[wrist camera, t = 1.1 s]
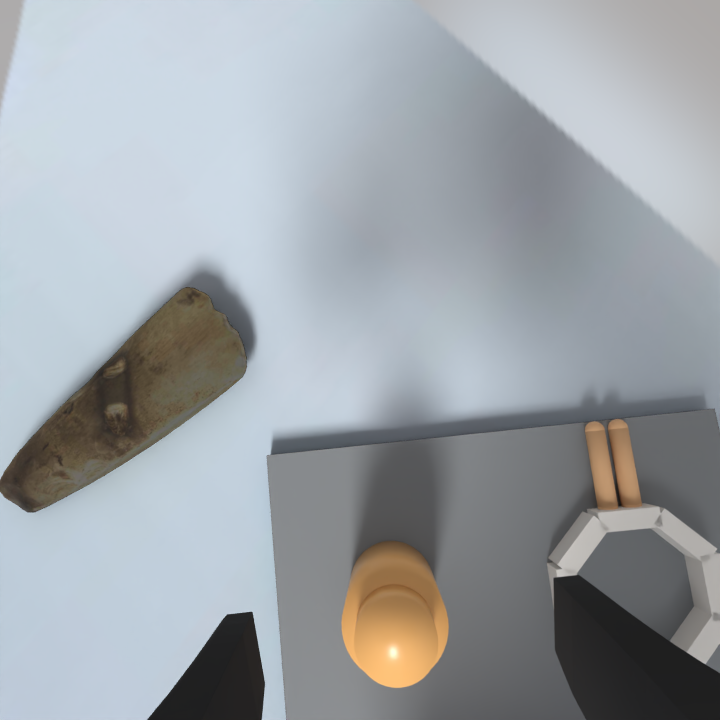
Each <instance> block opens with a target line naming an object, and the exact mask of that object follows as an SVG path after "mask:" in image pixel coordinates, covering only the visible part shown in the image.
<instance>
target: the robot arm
mask: <svg viewBox="0 0 720 720" xmlns="http://www.w3.org/2000/svg"><path fill="white" fill-rule="evenodd" d="M553 583H554V634H555V652H556V654H557V657H558V660H559V662H560V665H561V667H562V670H563V672H564V675H565V677H566V680H567V682H568V684H569V687H570V689H571V692H572V694H573V696H574V698H575V700H576V702H577V704H578V706H579V708H580V709H581V711H582V713H583V715H584V717H585V719H586V720H720V673H719V672H717V671H716V670H714V669H712V668H711V667H709V666H707V665H706V664H704V663H702V662H701V661H699V660H698V659H696V658H695V657H693V656H692V655H690V654H689V653H687V652H685V651H684V650H682V649H681V648H679V647H678V646H676V645H675V644H673V643H672V642H670V641H669V640H667V639H666V638H664V637H663V636H661V635H660V634H658V633H657V632H656V631H654V630H653V629H651V628H650V627H649V626H647V625H646V624H644V623H643V622H642V621H640V620H639V619H637V618H636V617H635V616H633V615H632V614H631V613H629V612H628V611H627V610H625V609H624V608H622V607H621V606H620V605H618V604H617V603H616V602H614V601H613V600H612V599H611V598H609V597H608V596H607V595H605V594H604V593H603V592H601V591H600V590H599V589H597V588H596V587H595V586H593V585H592V584H591V583H589V582H588V581H587V580H585V579H584V578H583V577H581V576H580V575H573V576H564V577H555V578H553ZM264 688H265V681H264V675H263V669H262V664H261V658H260V652H259V647H258V641H257V635H256V629H255V624H254V618H253V612H246V613H237V614H228V615H226V616H225V618H224V619H223V620H222V621H221V623H220V624H219V626H218V627H217V628H216V630H215V631H214V633H213V634H212V636H211V637H210V638H209V640H208V641H207V643H206V644H205V646H204V647H203V648H202V650H201V651H200V653H199V654H198V655H197V657H196V658H195V659H194V661H193V662H192V664H191V665H190V666H189V668H188V669H187V670H186V672H185V673H184V674H183V676H182V677H181V678H180V680H179V681H178V682H177V684H176V685H175V686H174V687H173V689H172V690H171V691H170V693H169V694H168V695H167V696H166V698H165V699H164V700H163V701H162V702H161V704H160V705H159V706H158V707H157V708H156V710H155V711H154V712H153V713H152V715H151V716H150V717H149V718H148V719H147V720H262V710H263V699H264Z"/></svg>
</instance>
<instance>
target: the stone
mask: <svg viewBox="0 0 720 720" xmlns="http://www.w3.org/2000/svg"><path fill="white" fill-rule="evenodd" d="M246 359H247V357H246V355H245V349H244V345H243V343H242V340H241V338H240V336H239V332H238V331H237V330H236V329H234V328H233V327H232V326H231V325H230V324H229V322H228V319H227V317H226V315H225V314H223V313H221V312H218V311H216V310H215V309H214V307H213V304H212V301H211V299H210V297H209V296H208V295H207V294H205V293H204V292H201V291H199V290H197V289H195V288H190V287H186V288H183V289H181V290H180V291H179V292H178V293H177V294H176V295H175V296H174V297H172V298H171V299H170V300H169V301H168V302H167V303H166V304H165V305H164V306H163V307H162V308H161V309H160V310H159V311H157V312H156V313H155V314H154V315H153V316H152V317H151V318H150V319H149V320H148V321H147V322H146V323H145V324H144V325H143V326H142V327H141V328H139V329H138V330H137V331H136V332H135V333H134V334H133V335H132V336H131V337H130V338H129V339H128V340H127V341H126V342H125V343H124V345H123V346H122V347H121V348H120V349H119V350H118V351H117V352H116V353H115V354H114V355H113V356H112V358H111V359H109V360H108V361H107V362H106V363H105V364H104V365H103V366H102V367H101V368H100V369H99V370H98V371H97V372H96V374H95V375H94V376H93V377H92V379H91V380H90V381H89V382H88V383H87V384H86V385H85V386H84V387H82V388H81V389H80V390H79V391H77V392H76V393H75V394H74V395H72V396H71V397H70V398H69V399H68V400H67V401H66V402H65V403H64V404H63V405H62V406H61V407H60V408H59V409H58V410H57V411H56V412H55V413H54V414H53V416H52V417H51V418H50V419H49V420H48V421H47V422H46V423H45V424H44V425H43V426H42V427H41V428H40V429H39V430H38V431H37V432H36V433H35V434H34V435H33V436H32V438H31V439H30V440H29V441H28V442H27V443H26V444H25V446H24V447H23V448H22V449H21V450H20V451H19V452H18V453H17V455H16V456H15V457H14V459H13V460H12V462H11V463H10V465H9V466H8V467H7V469H6V470H5V472H4V474H3V476H2V477H1V479H0V492H1V493H2V494H3V496H4V497H5V498H6V499H8V500H10V501H11V502H13V503H15V504H16V505H18V506H19V507H20V508H22V509H23V510H25V511H26V512H36V511H39V510H41V509H43V508H45V507H47V506H50V505H51V504H53V503H55V502H57V501H59V500H61V499H63V498H65V497H67V496H69V495H70V494H72V493H74V492H76V491H78V490H80V489H82V488H83V487H85V486H87V485H89V484H91V483H92V482H94V481H96V480H97V479H99V478H101V477H103V476H105V475H106V474H108V473H109V472H111V471H113V470H114V469H116V468H117V467H119V466H121V465H122V464H124V463H126V462H127V461H129V460H130V459H132V458H133V457H135V456H136V455H138V454H139V453H141V452H142V451H144V450H146V449H147V448H149V447H150V446H152V445H153V444H155V443H156V442H158V441H159V440H161V439H162V438H163V437H165V436H166V435H168V434H169V433H171V432H172V431H173V430H174V429H176V428H177V427H179V426H180V425H182V424H183V423H184V422H186V421H187V420H189V419H190V418H191V417H193V416H194V415H195V414H197V413H198V412H199V411H201V410H202V409H203V408H205V407H206V406H207V405H209V404H210V403H211V402H213V401H214V400H215V399H217V398H218V397H219V396H220V395H222V394H223V393H224V392H225V391H227V390H228V389H229V388H230V387H232V386H233V385H234V384H235V383H236V382H237V381H239V380H240V379H241V378H242V377H243V375H244V374H245V372H246V368H247V363H246Z"/></svg>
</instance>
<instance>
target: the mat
mask: <svg viewBox="0 0 720 720" xmlns="http://www.w3.org/2000/svg"><path fill="white" fill-rule="evenodd" d="M267 467H268V481H269V494H270V508H271V521H272V535H273V548H274V561H275V575H276V588H277V602H278V615H279V629H280V642H281V655H282V669H283V682H284V696H285V709H286V720H586V719H585V717H584V715H583V713H582V711H581V709H580V708H579V706H578V704H577V702H576V700H575V698H574V696H573V694H572V692H571V689H570V687H569V684H568V682H567V680H566V677H565V675H564V672H563V670H562V667H561V665H560V662H559V660H558V657H557V654H556V652H555V634H554V583H553V578H555V577H564V576H573V575H580V576H581V577H583V578H584V579H585V580H587V581H588V582H589V583H591V584H592V585H593V586H595V587H596V588H597V589H599V590H600V591H601V592H603V593H604V594H605V595H607V596H608V597H609V598H611V599H612V600H613V601H614V602H616V603H617V604H618V605H620V606H621V607H622V608H624V609H625V610H627V611H628V612H629V613H631V614H632V615H633V616H635V617H636V618H637V619H639V620H640V621H642V622H643V623H644V624H646V625H647V626H649V627H650V628H651V629H653V630H654V631H656V632H657V633H658V634H660V635H661V636H663V637H664V638H666V639H667V640H669V641H670V642H672V643H673V644H675V645H676V646H678V647H679V648H681V649H682V650H684V651H685V652H687V653H689V654H690V655H692V656H693V657H695V658H696V659H698V660H699V661H701V662H702V663H704V664H706V665H707V666H709V667H711V668H712V669H714V670H716V671H717V672H719V673H720V432H719V427H718V422H717V417H716V412H715V409H706V410H696V411H687V412H677V413H668V414H658V415H649V416H639V417H629V418H620V419H610V420H601V421H591V422H581V423H572V424H562V425H553V426H543V427H533V428H524V429H514V430H505V431H495V432H485V433H476V434H466V435H457V436H447V437H438V438H428V439H418V440H409V441H399V442H390V443H380V444H370V445H361V446H351V447H342V448H332V449H322V450H313V451H303V452H294V453H284V454H274V455H267ZM384 541H399V542H403V543H406V544H408V545H410V546H412V547H414V548H415V549H416V550H418V551H419V552H420V553H421V554H422V555H423V557H424V558H425V559H426V561H427V562H428V564H429V566H430V568H431V571H432V573H433V576H434V579H435V581H436V584H437V587H438V589H439V592H440V595H441V597H442V600H443V602H444V605H445V608H446V611H447V616H448V624H449V630H448V638H447V643H446V646H445V649H444V651H443V653H442V655H441V657H440V659H439V660H438V662H437V663H436V664H435V665H434V666H433V668H431V670H430V671H429V673H428V674H427V675H426V676H425V677H424V678H423V679H422V680H420V681H419V682H417V683H415V684H413V685H410V686H407V687H402V688H393V687H387V686H384V685H381V684H379V683H377V682H376V681H374V680H373V679H371V678H370V677H369V676H368V675H367V674H366V673H365V672H364V671H363V670H362V669H360V668H359V666H358V665H357V664H356V663H355V662H354V661H353V659H352V658H351V656H350V655H349V653H348V651H347V649H346V646H345V643H344V640H343V635H342V624H341V622H342V614H343V609H344V605H345V600H346V596H347V591H348V587H349V582H350V578H351V573H352V570H353V567H354V565H355V563H356V561H357V559H358V558H359V556H360V555H361V554H362V553H363V552H364V551H365V550H366V549H368V548H369V547H371V546H372V545H375V544H377V543H380V542H384Z"/></svg>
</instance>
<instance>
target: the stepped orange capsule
mask: <svg viewBox="0 0 720 720" xmlns="http://www.w3.org/2000/svg"><path fill="white" fill-rule="evenodd" d="M341 624H342V635H343V640H344V643H345V646H346V649H347V651H348V653H349V655H350V656H351V658H352V659H353V661H354V662H355V663H356V664H357V665H358V666H359V668H360V669H362V670H363V671H364V672H365V673H366V674H367V675H368V676H369V677H370V678H371V679H373V680H374V681H376V682H377V683H379V684H381V685H384V686H387V687H393V688H402V687H407V686H410V685H413V684H415V683H417V682H419V681H420V680H422V679H423V678H424V677H425V676H426V675H427V674H428V673H429V671H430V670H431V668H433V666H434V665H435V664H436V663H437V662H438V660H439V659H440V657H441V655H442V653H443V651H444V649H445V646H446V643H447V638H448V630H449V624H448V616H447V611H446V608H445V605H444V602H443V600H442V597H441V595H440V592H439V589H438V587H437V584H436V581H435V579H434V576H433V573H432V571H431V568H430V566H429V564H428V562H427V561H426V559H425V558H424V557H423V555H422V554H421V553H420V552H419V551H418V550H416V549H415V548H414V547H412V546H410V545H408V544H406V543H403V542H399V541H384V542H380V543H377V544H375V545H372V546H371V547H369V548H368V549H366V550H365V551H364V552H363V553H362V554H361V555H360V556H359V558H358V559H357V561H356V563H355V565H354V567H353V570H352V573H351V578H350V582H349V587H348V591H347V596H346V600H345V605H344V609H343V614H342V622H341Z"/></svg>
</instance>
